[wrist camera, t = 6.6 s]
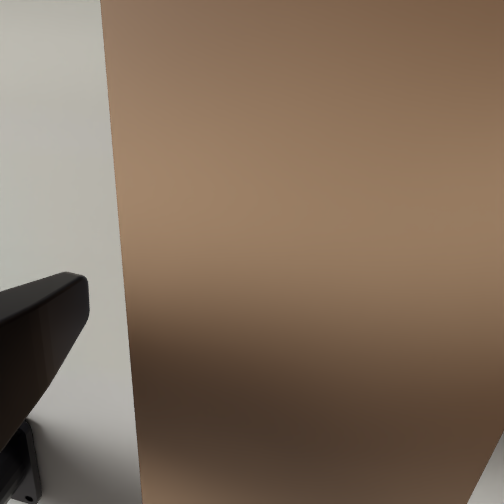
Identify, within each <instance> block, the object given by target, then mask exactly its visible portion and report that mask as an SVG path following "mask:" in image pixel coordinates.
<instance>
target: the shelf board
mask: <svg viewBox="0 0 504 504" xmlns="http://www.w3.org/2000/svg"><path fill="white" fill-rule="evenodd" d="M100 3H101V15H102V27H103V38H104V50H105V62H106V74H107V86H108V98H109V110H110V122H111V134H112V146H113V158H114V170H115V182H116V194H117V206H118V218H119V229H120V241H121V253H122V265H123V277H124V289H125V301H126V313H127V325H128V337H129V349H130V361H131V373H132V385H133V397H134V408H135V420H136V432H137V444H138V456H139V468H140V480H141V492H142V504H467V502H468V500H469V498H470V496H471V494H472V492H473V490H474V489H475V487H476V485H477V483H478V481H479V479H480V477H481V475H482V473H483V471H484V469H485V467H486V465H487V463H488V461H489V459H490V457H491V455H492V453H493V451H494V449H495V447H496V445H497V443H498V441H499V439H500V437H501V435H502V433H503V431H504V0H100Z"/></svg>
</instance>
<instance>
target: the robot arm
mask: <svg viewBox="0 0 504 504" xmlns="http://www.w3.org/2000/svg"><path fill="white" fill-rule="evenodd" d="M89 311H90V308H89V289H88V281H87V278H86V277H85V276H83V275H79V274H75V273H71V272H62V273H59V274H55V275H52V276H49V277H46V278H43V279H40V280H36V281H33V282H30V283H27V284H24V285H20V286H17V287H14V288H11V289H8V290H4V291H1V292H0V504H7V503H8V501H9V500H10V498H12V499H15V500H18V501H22V502H25V503H28V504H37V503H38V501H39V500H40V498H41V497H42V492H41V486H40V479H39V473H38V467H37V461H36V455H35V449H34V443H33V437H32V431H31V427H30V425H29V424H28V423H26V422H25V421H24V420H25V419H26V417H27V416H28V414H29V413H30V412H31V410H32V409H33V408H34V406H35V405H36V404H37V402H38V401H39V400H40V398H41V397H42V395H43V394H44V392H45V391H46V390H47V388H48V387H49V385H50V384H51V382H52V380H53V379H54V377H55V375H56V374H57V372H58V370H59V369H60V367H61V365H62V363H63V362H64V360H65V358H66V357H67V355H68V353H69V351H70V350H71V348H72V346H73V345H74V343H75V341H76V339H77V338H78V336H79V334H80V333H81V331H82V329H83V327H84V326H85V324H86V322H87V320H88V317H89Z"/></svg>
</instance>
